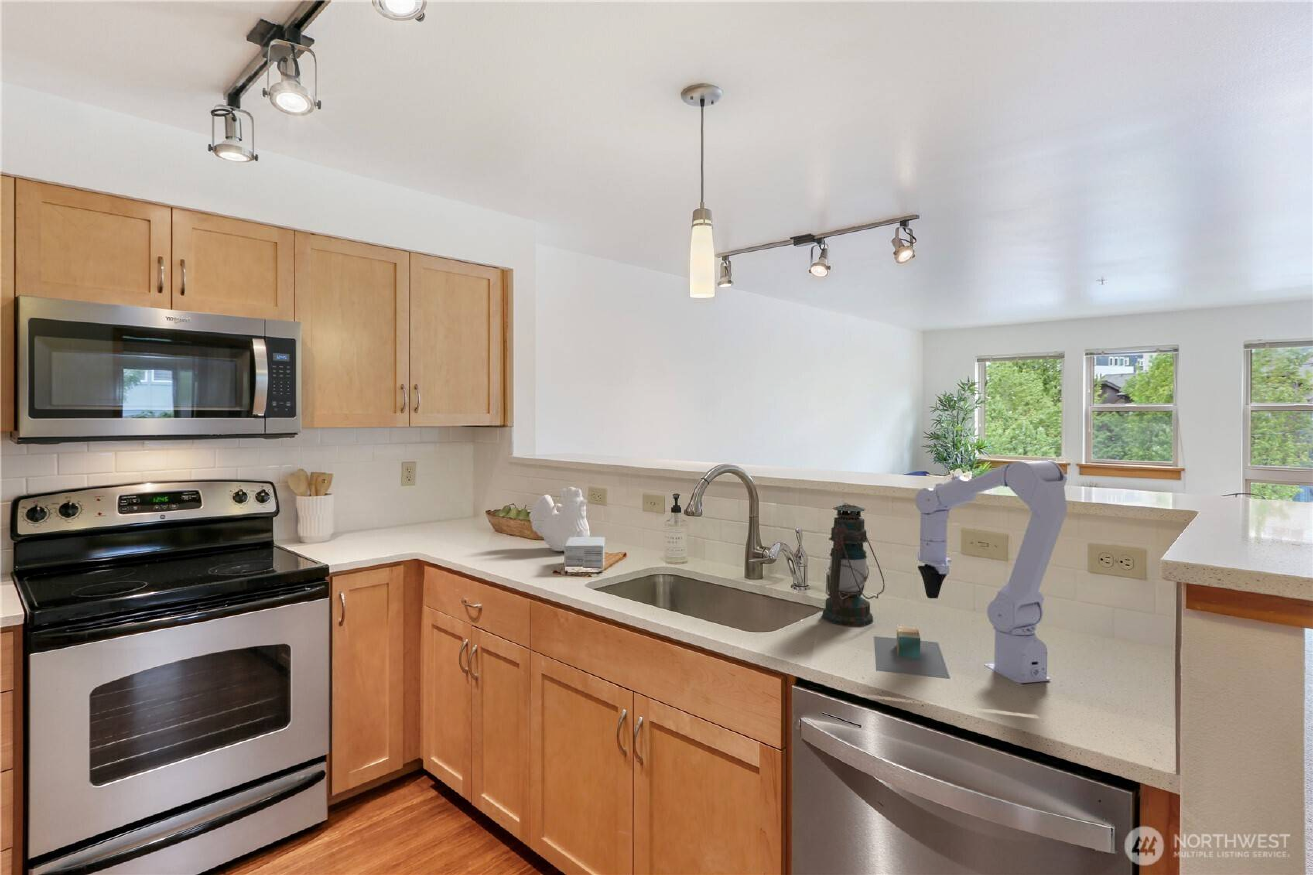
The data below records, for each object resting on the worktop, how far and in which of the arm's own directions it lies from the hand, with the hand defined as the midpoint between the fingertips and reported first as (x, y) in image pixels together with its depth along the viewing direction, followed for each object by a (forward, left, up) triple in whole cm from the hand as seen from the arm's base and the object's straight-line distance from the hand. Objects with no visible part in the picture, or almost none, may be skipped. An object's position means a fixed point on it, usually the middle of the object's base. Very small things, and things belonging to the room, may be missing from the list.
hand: (932, 597), depth 155 cm
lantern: (+20, +10, -11) cm, 24 cm away
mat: (-8, +11, -10) cm, 17 cm away
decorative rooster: (+124, +76, -11) cm, 146 cm away
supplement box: (+92, +70, -11) cm, 116 cm away
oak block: (-9, +12, -8) cm, 17 cm away
